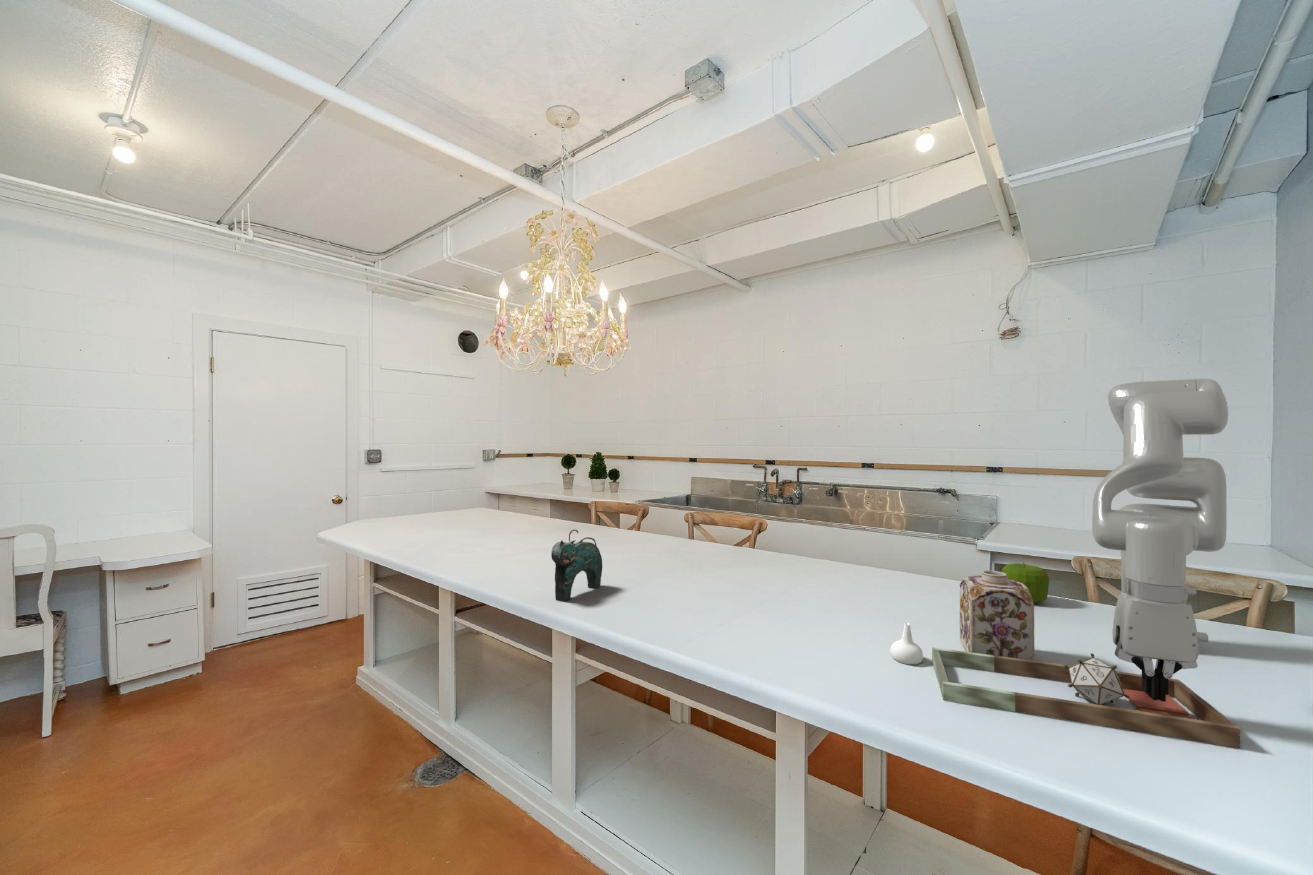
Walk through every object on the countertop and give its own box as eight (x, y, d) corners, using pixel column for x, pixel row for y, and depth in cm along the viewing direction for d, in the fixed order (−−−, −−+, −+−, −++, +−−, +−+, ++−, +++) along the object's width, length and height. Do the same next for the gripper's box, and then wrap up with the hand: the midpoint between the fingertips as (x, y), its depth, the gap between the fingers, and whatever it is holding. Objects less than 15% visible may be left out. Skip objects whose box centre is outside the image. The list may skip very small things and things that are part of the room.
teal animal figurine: (562, 604, 149) (561, 534, 149) (546, 600, 153) (545, 532, 152) (606, 586, 166) (605, 524, 166) (590, 583, 169) (589, 522, 169)
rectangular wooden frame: (1178, 695, 95) (1178, 679, 95) (1240, 748, 79) (1240, 728, 79) (932, 661, 110) (932, 647, 110) (943, 700, 94) (943, 683, 94)
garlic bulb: (891, 665, 110) (891, 629, 109) (889, 650, 116) (889, 616, 115) (924, 670, 108) (924, 633, 107) (921, 655, 113) (921, 620, 113)
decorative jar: (969, 662, 110) (969, 577, 110) (958, 641, 121) (958, 564, 121) (1036, 670, 106) (1036, 582, 105) (1019, 648, 117) (1018, 568, 116)
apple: (1006, 604, 146) (1006, 565, 146) (997, 593, 156) (996, 556, 156) (1054, 608, 142) (1054, 568, 142) (1041, 596, 152) (1041, 559, 152)
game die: (1110, 727, 92) (1156, 698, 86) (1064, 710, 92) (1107, 679, 86) (1085, 682, 99) (1125, 652, 94) (1042, 666, 99) (1080, 635, 94)
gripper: (1198, 589, 90) (1198, 694, 90) (1092, 581, 96) (1092, 680, 96) (1226, 602, 83) (1226, 716, 84) (1110, 592, 89) (1110, 699, 89)
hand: (1154, 696), depth 90 cm, fingers closed
